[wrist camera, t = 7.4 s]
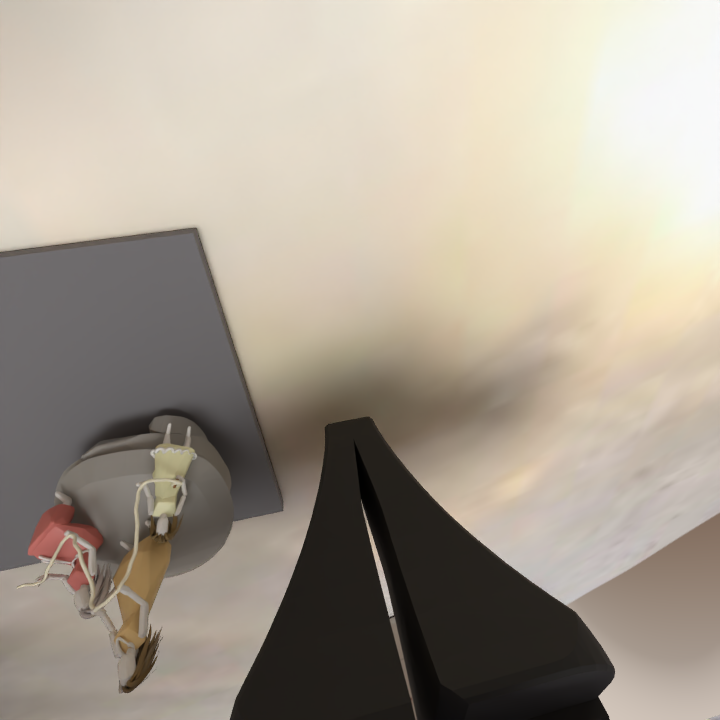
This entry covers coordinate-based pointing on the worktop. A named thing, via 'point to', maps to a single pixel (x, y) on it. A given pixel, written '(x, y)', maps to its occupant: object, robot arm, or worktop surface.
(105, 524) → the figurine
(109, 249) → the mat
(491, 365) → the worktop surface
